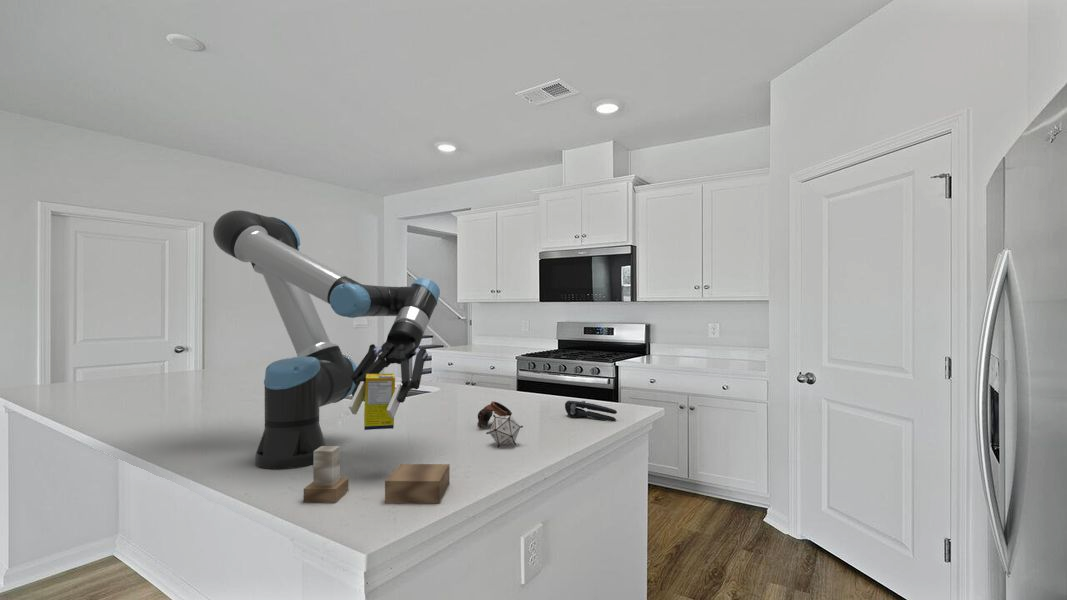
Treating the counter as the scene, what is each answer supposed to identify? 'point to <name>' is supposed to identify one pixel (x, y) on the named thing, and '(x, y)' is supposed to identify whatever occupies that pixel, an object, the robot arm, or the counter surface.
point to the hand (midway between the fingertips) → (371, 412)
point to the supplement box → (378, 401)
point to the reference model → (326, 477)
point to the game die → (504, 430)
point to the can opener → (578, 412)
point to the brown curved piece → (491, 412)
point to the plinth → (417, 483)
